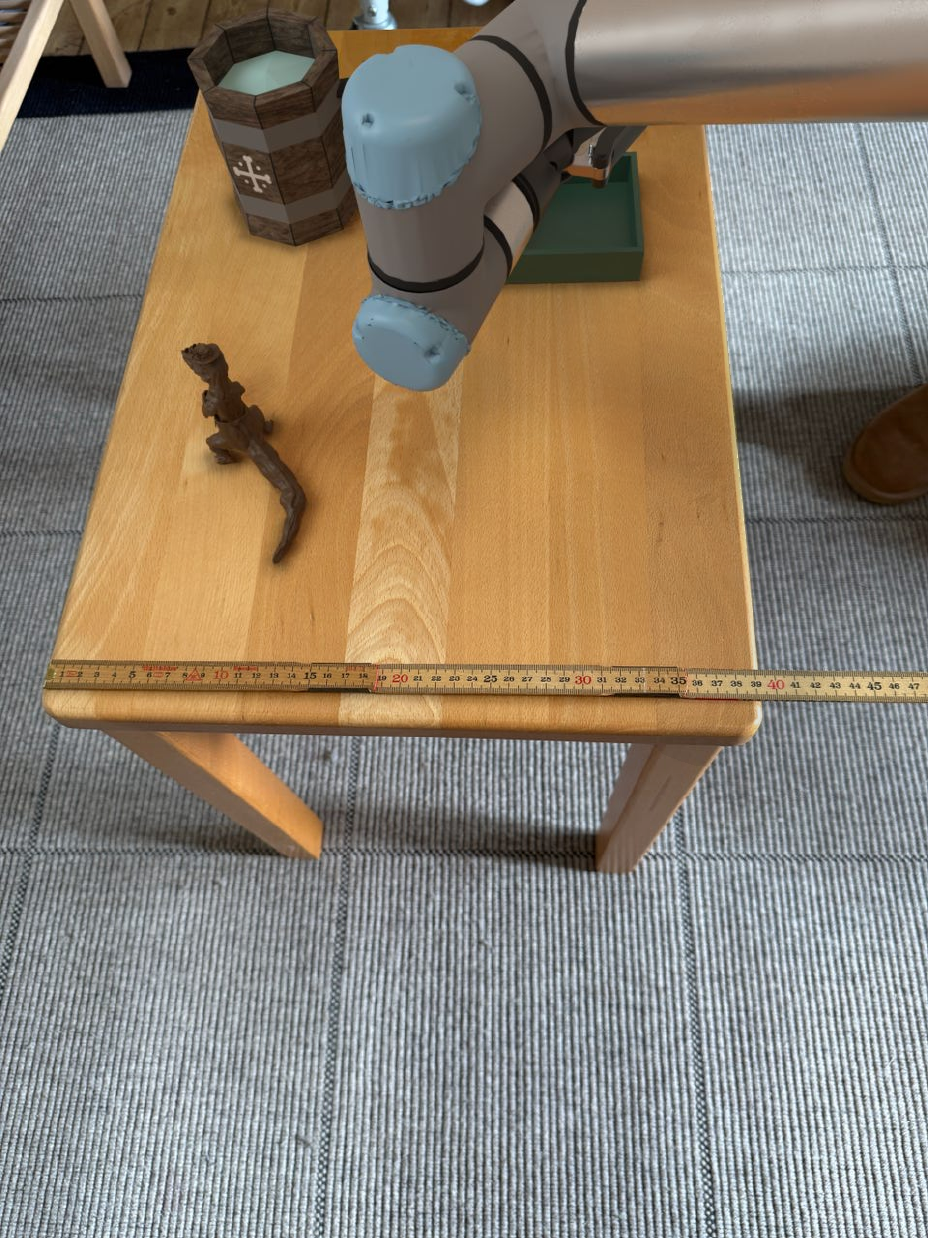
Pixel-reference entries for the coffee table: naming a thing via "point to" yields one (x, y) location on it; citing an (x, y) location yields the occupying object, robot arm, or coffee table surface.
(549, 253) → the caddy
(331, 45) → the mug
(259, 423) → the brown dinosaur figurine
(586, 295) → the coffee table surface
